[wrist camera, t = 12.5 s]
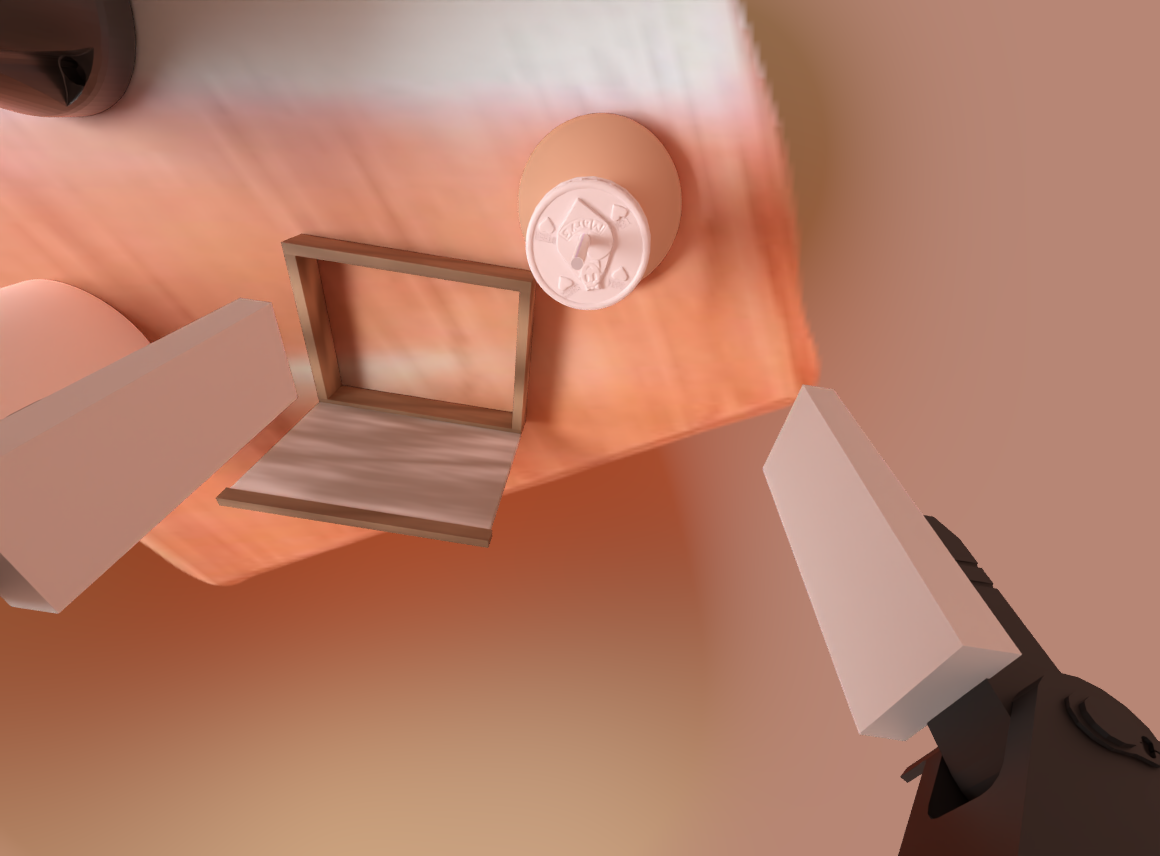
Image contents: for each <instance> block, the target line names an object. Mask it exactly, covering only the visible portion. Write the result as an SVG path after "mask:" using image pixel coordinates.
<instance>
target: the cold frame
mask: <svg viewBox="0 0 1160 856" xmlns="http://www.w3.org/2000/svg"><path fill="white" fill-rule="evenodd" d="M281 244H282V248H283V253H284V257H285V261H286V265H287V269H288V273H289V278H290V282H291V286H292V290H293V294H294V298H295V303H296V307H297V311H298V315H299V319H300V323H301V327H302V332H303V336H304V340H305V344H306V348H307V352H308V357H309V361H310V365H311V369H312V373H313V377H314V382H315V386H316V390H317V394H318V398H319V403H318V404H317V405H316V406H315V407H314V408H312V409H311V410H310V411H309V412H308V413H307V414H306V415H305V416H304V417H303V418H302V419H301V420H300V421H299V422H298V423H297V424H296V425H295V426H294V427H293V428H292V429H291V430H290V431H289V432H288V433H287V434H286V435H285V436H284V437H282V438H281V439H280V440H279V441H278V442H277V443H276V444H275V445H274V446H273V447H272V448H271V449H270V450H269V451H268V452H267V453H266V454H265V455H264V456H263V457H262V458H261V459H260V460H259V461H258V462H257V463H256V464H255V465H254V466H252V467H251V468H250V469H249V470H248V471H247V472H246V473H245V474H244V475H243V476H242V477H241V478H240V479H239V480H238V481H237V482H236V483H235V484H234V485H233V486H232V487H231V488H226V489H225V490H223V491H222V492H221V493H220V494H219V495H218V496H217V497H216V499H217V501H218V504H219V505H221V506H227V507H234V508H240V509H246V510H253V511H259V512H265V513H272V514H278V515H284V516H291V517H297V518H303V519H310V520H316V521H322V522H329V523H335V524H341V525H348V526H354V527H360V528H366V529H373V530H379V531H385V532H392V533H398V534H405V535H411V536H418V537H423V538H430V539H436V540H443V541H449V542H455V543H461V544H468V545H474V546H481V547H487V548H488V547H489V544H490V541H491V537H492V530H491V528H492V525H493V522H494V519H495V516H496V512H497V509H498V506H499V503H500V500H501V497H502V494H503V491H504V488H505V485H506V482H507V479H508V476H509V473H510V470H511V466H512V463H513V460H514V457H515V454H516V451H517V448H518V445H519V442H520V437H521V434H522V431H523V428H524V425H525V422H526V410H527V397H528V384H529V371H530V358H531V344H532V331H533V318H534V305H535V292H536V279H535V278H534V276H533V274H532V272H531V271H528V270H522V269H516V268H510V267H504V266H497V265H491V264H485V263H479V262H473V261H466V260H460V259H454V258H448V257H442V256H435V255H429V254H423V253H417V252H411V251H404V250H398V249H392V248H386V247H380V246H373V245H367V244H361V243H355V242H349V241H342V240H336V239H330V238H324V237H318V236H311V235H305V234H300V235H297V236H295V237H292V238H290V239H287V240H285V241H283V242H281ZM317 259H320V260H326V261H333V262H339V263H345V264H351V265H357V266H364V267H370V268H376V269H382V270H389V271H395V272H401V273H407V274H413V275H420V276H426V277H432V278H438V279H444V280H451V281H457V282H463V283H469V284H475V285H482V286H488V287H494V288H500V289H507V290H513V291H519V292H520V293H519V311H518V329H517V347H516V365H515V383H514V401H513V412H506V411H500V410H494V409H488V408H481V407H475V406H469V405H463V404H456V403H450V402H444V401H438V400H431V399H425V398H419V397H412V396H406V395H400V394H394V393H387V392H381V391H375V390H369V389H362V388H356V387H350V386H344V385H342V383H341V378H340V373H339V368H338V363H337V358H336V353H335V348H334V343H333V338H332V333H331V328H330V323H329V318H328V313H327V308H326V303H325V298H324V293H323V288H322V283H321V278H320V273H319V268H318V263H317Z"/></svg>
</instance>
